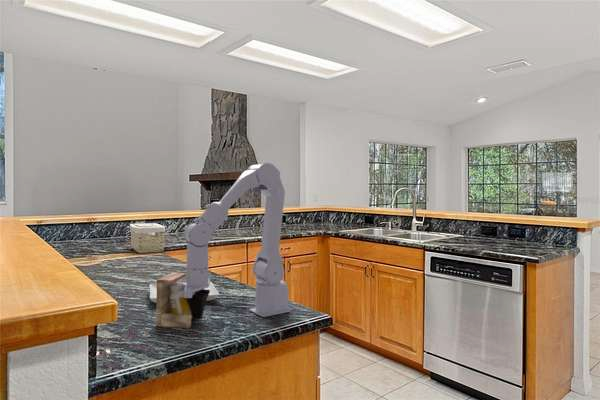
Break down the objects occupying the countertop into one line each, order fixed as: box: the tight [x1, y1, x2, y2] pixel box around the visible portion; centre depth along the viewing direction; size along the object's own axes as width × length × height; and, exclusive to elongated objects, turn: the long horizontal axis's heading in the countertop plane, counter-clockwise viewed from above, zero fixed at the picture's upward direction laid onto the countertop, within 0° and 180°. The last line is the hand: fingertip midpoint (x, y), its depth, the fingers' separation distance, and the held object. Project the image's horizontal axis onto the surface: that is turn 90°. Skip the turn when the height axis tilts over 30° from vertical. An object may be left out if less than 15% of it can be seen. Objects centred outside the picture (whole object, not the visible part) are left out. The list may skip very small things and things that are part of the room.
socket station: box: [155, 272, 192, 329], centre depth 111 cm, size 9×10×12 cm
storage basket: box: [129, 222, 166, 254], centre depth 238 cm, size 24×16×15 cm
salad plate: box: [148, 280, 220, 304], centre depth 136 cm, size 21×21×3 cm
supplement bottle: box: [169, 283, 194, 319], centre depth 112 cm, size 5×5×10 cm
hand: (197, 317), depth 111 cm, fingers closed, pressing on supplement bottle
